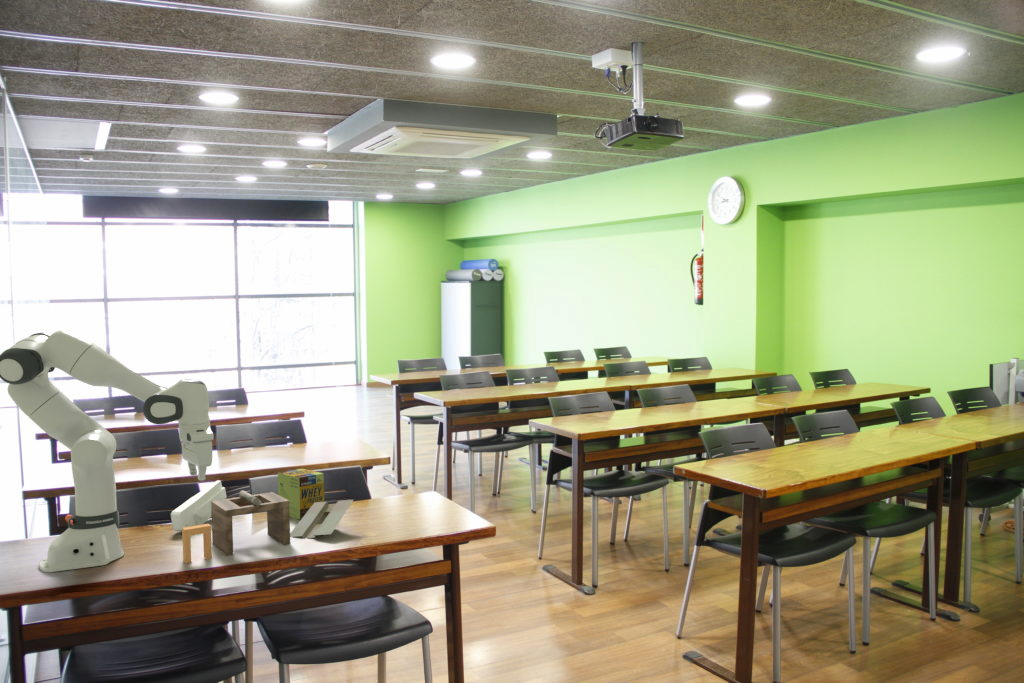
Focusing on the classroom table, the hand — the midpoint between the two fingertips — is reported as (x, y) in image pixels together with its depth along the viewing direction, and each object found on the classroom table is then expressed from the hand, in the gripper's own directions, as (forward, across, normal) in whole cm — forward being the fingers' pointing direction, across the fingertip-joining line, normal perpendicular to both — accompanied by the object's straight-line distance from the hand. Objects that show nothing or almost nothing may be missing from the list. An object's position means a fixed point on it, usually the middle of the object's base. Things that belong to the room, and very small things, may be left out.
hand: (197, 477), depth 235 cm
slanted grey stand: (+26, -2, +39) cm, 47 cm away
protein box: (+26, -31, +44) cm, 60 cm away
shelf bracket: (+25, -42, +11) cm, 50 cm away
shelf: (+25, -5, +16) cm, 30 cm away
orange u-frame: (+25, +1, -2) cm, 25 cm away
